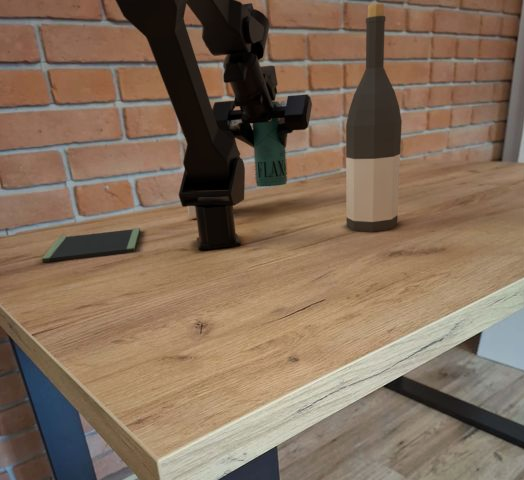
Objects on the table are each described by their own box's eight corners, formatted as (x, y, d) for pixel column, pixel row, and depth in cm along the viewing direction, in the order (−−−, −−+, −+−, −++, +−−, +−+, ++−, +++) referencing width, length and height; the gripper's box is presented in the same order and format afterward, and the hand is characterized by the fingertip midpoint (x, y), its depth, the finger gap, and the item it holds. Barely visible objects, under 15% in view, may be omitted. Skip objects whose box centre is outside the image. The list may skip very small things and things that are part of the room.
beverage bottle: (253, 195, 101) (244, 82, 93) (259, 191, 107) (251, 84, 99) (286, 193, 100) (279, 78, 92) (290, 189, 106) (284, 81, 98)
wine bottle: (346, 232, 80) (345, 3, 66) (346, 221, 87) (346, 11, 73) (399, 230, 78) (409, -4, 65) (395, 219, 85) (404, 5, 72)
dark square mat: (135, 251, 79) (134, 247, 79) (42, 262, 78) (41, 258, 78) (140, 231, 92) (139, 227, 92) (61, 240, 90) (60, 236, 90)
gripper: (307, 41, 87) (322, 110, 101) (207, 53, 92) (235, 117, 107) (298, 93, 83) (315, 157, 97) (194, 102, 89) (225, 161, 103)
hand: (271, 146), depth 101 cm, fingers closed on beverage bottle, 5 cm apart
